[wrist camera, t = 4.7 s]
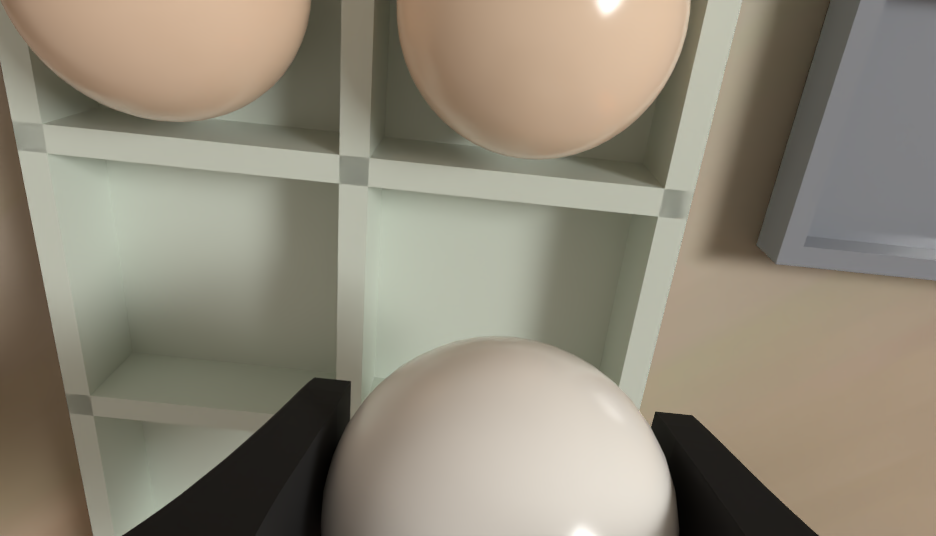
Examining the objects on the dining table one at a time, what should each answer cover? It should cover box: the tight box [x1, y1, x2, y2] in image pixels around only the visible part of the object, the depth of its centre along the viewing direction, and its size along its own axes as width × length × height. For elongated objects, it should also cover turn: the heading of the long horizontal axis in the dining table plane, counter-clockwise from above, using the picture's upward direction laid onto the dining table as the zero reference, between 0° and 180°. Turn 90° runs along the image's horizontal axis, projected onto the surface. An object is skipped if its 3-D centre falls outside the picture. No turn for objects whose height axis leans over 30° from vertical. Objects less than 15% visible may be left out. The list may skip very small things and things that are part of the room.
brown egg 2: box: [397, 0, 691, 160], centre depth 11 cm, size 5×5×5 cm
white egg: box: [321, 336, 679, 536], centre depth 9 cm, size 5×5×5 cm
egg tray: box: [0, 0, 742, 536], centre depth 15 cm, size 20×14×3 cm
